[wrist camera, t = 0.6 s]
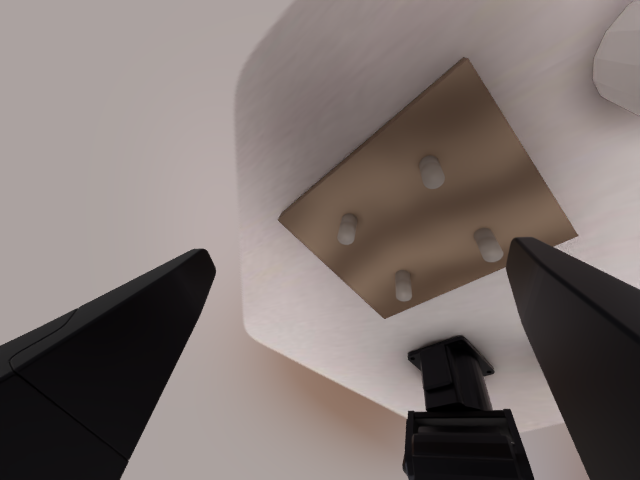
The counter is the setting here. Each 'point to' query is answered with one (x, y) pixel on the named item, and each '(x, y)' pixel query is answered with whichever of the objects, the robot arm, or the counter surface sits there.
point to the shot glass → (620, 61)
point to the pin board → (428, 199)
